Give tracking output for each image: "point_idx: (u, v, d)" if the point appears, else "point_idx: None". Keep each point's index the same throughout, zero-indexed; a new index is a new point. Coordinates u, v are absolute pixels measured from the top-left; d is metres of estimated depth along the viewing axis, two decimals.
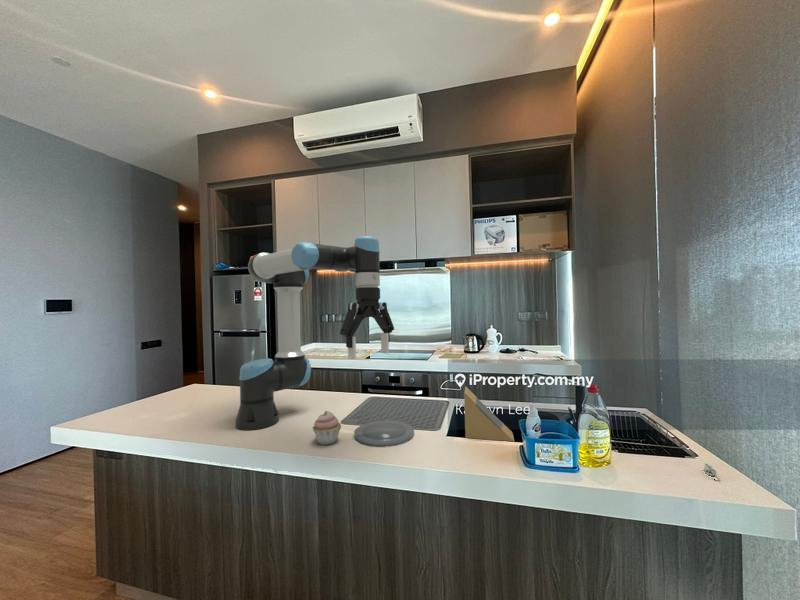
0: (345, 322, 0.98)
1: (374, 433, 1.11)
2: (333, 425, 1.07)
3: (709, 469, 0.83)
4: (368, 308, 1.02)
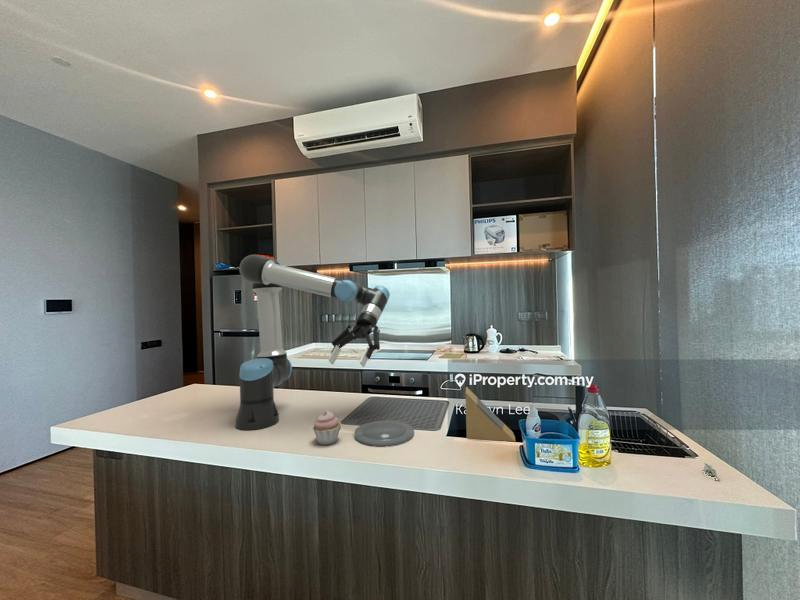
0: (377, 339, 1.21)
1: (374, 433, 1.11)
2: (333, 425, 1.07)
3: (709, 469, 0.83)
4: None
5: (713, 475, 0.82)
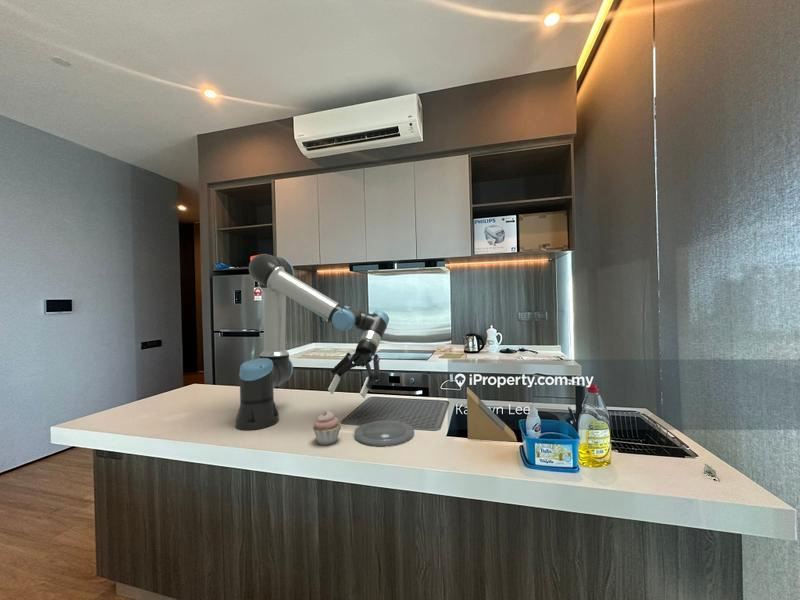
0: (377, 368, 1.20)
1: (374, 433, 1.11)
2: (333, 425, 1.07)
3: (709, 469, 0.83)
4: None
5: (713, 475, 0.82)
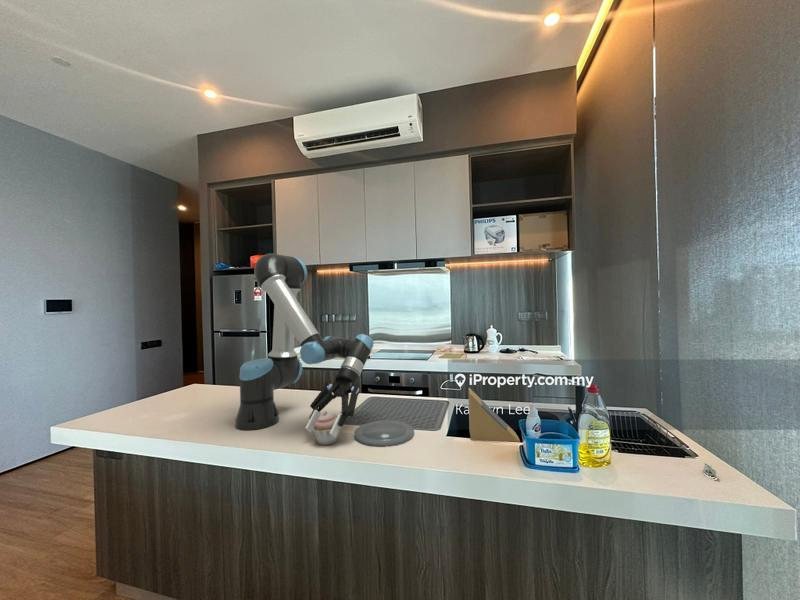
0: (353, 404, 1.09)
1: (374, 433, 1.11)
2: None
3: (709, 469, 0.83)
4: None
5: (713, 475, 0.82)
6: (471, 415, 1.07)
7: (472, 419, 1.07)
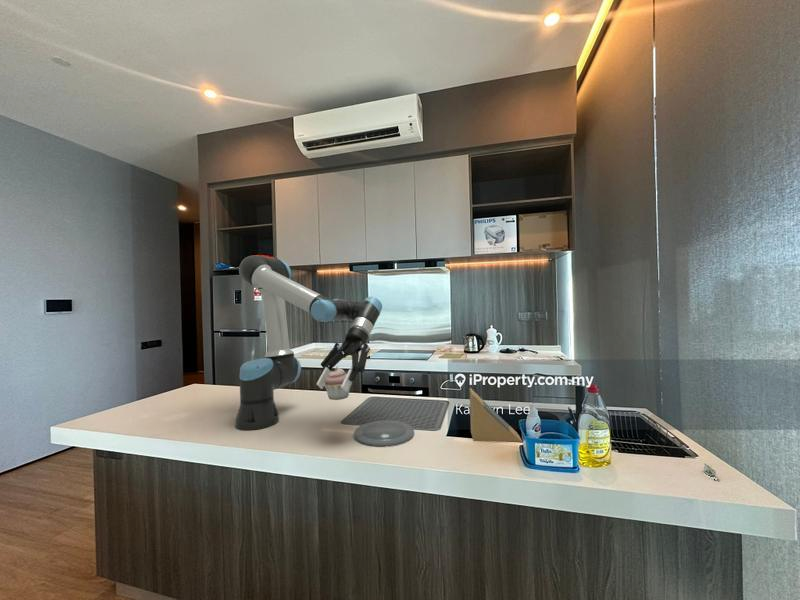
0: (363, 360, 1.10)
1: (374, 433, 1.11)
2: None
3: (709, 469, 0.83)
4: None
5: (713, 475, 0.82)
6: (473, 416, 1.07)
7: (474, 420, 1.07)
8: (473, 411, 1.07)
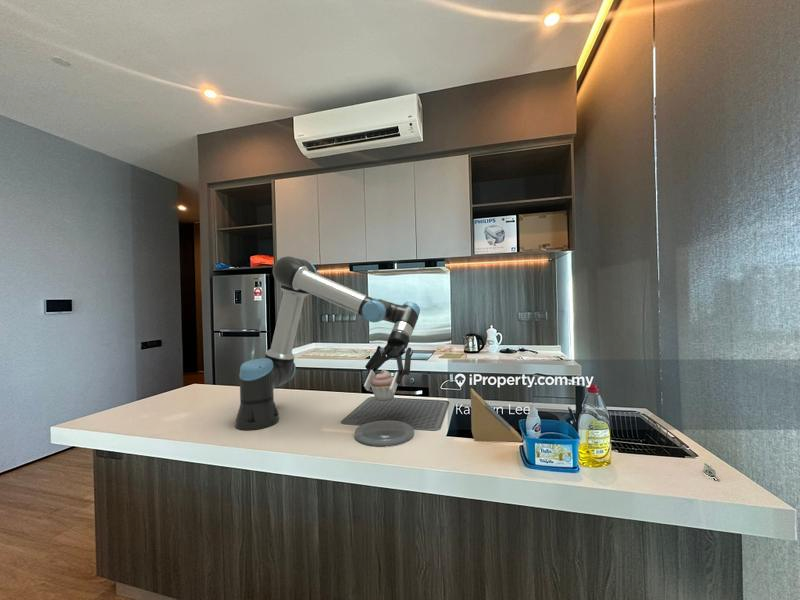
0: (408, 363, 1.14)
1: (374, 433, 1.11)
2: (391, 382, 1.12)
3: (708, 469, 0.83)
4: None
5: (713, 475, 0.82)
6: (474, 416, 1.07)
7: (475, 420, 1.07)
8: (474, 411, 1.07)
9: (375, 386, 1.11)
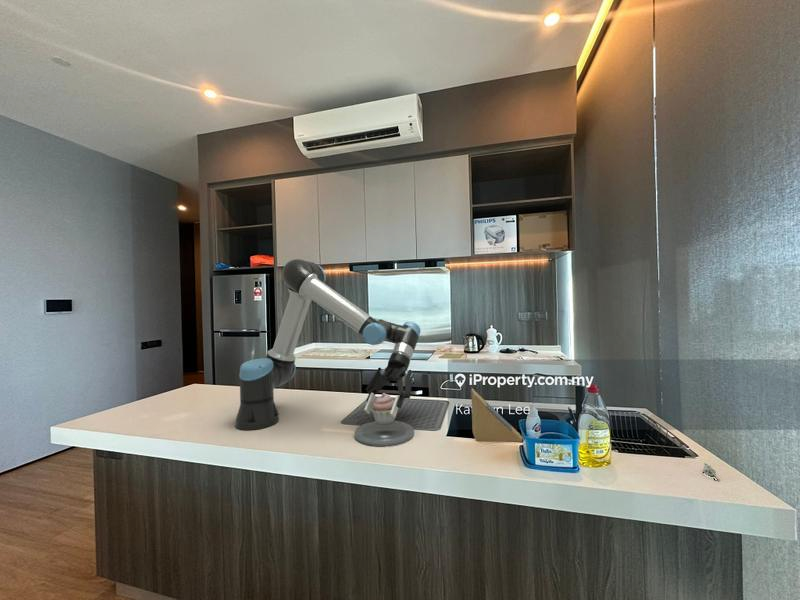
0: (409, 386, 1.14)
1: (374, 433, 1.11)
2: (392, 406, 1.11)
3: (708, 469, 0.83)
4: None
5: (712, 475, 0.82)
6: (476, 416, 1.06)
7: (477, 420, 1.06)
8: (476, 411, 1.06)
9: (376, 410, 1.11)
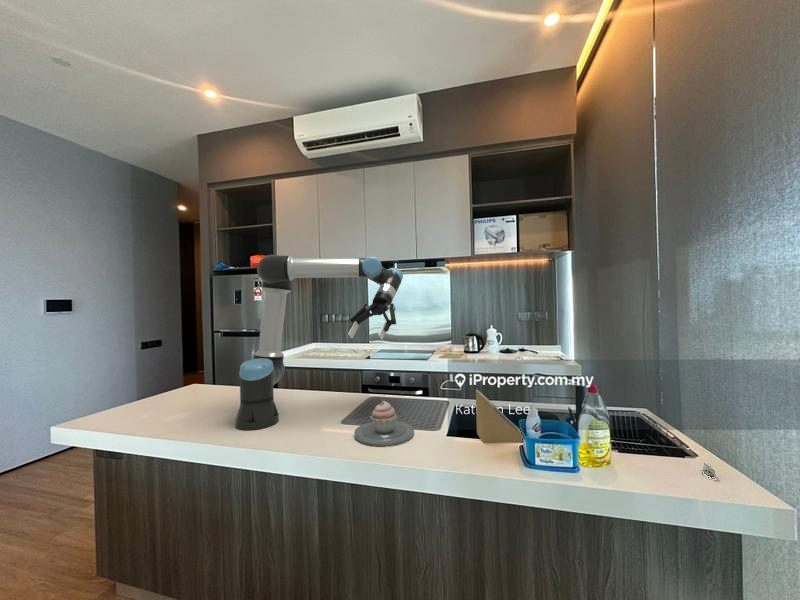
0: (394, 315, 1.30)
1: (374, 433, 1.11)
2: (391, 414, 1.12)
3: (708, 469, 0.83)
4: None
5: (712, 475, 0.82)
6: (483, 417, 1.05)
7: (484, 421, 1.05)
8: (483, 413, 1.05)
9: (375, 418, 1.11)
